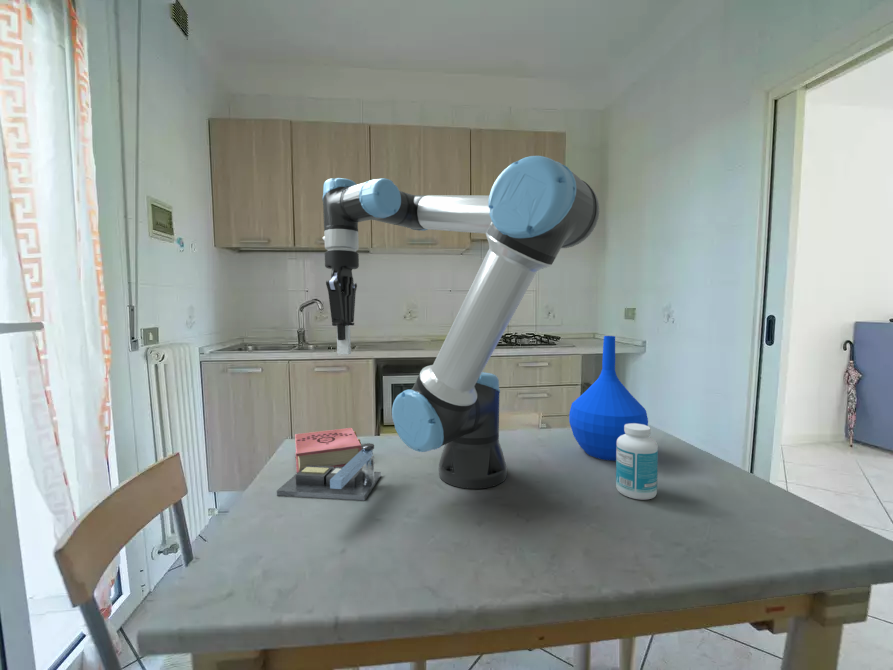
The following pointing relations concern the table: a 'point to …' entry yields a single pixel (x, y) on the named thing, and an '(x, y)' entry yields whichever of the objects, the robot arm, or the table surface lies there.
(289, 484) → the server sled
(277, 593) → the table surface
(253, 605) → the table surface
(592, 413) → the vase
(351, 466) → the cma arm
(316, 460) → the book
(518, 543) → the table surface
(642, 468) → the pill bottle
